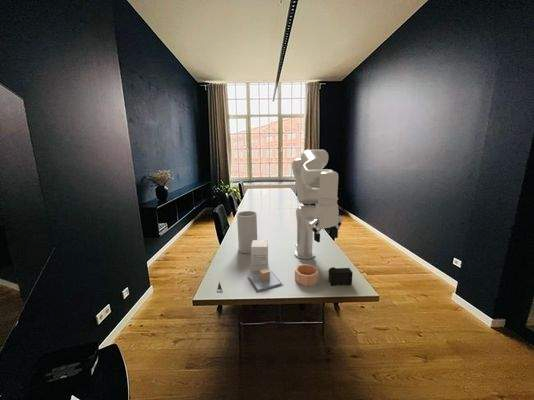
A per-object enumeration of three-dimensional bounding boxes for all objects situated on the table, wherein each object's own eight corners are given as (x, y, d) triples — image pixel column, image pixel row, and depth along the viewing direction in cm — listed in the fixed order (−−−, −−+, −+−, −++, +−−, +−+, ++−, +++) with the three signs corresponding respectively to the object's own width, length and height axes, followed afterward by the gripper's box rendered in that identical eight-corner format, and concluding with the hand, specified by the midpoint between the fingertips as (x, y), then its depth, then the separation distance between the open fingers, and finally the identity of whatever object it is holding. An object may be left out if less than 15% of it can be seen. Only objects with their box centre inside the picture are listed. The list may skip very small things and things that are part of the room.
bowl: (291, 277, 114) (291, 267, 113) (309, 272, 118) (309, 262, 117) (302, 289, 104) (303, 278, 103) (322, 283, 109) (322, 272, 107)
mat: (247, 278, 114) (247, 277, 114) (271, 272, 119) (271, 271, 119) (256, 294, 101) (256, 293, 101) (283, 286, 107) (283, 285, 106)
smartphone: (216, 291, 103) (220, 274, 118) (216, 293, 103) (220, 275, 118) (231, 290, 104) (233, 273, 118) (232, 292, 104) (233, 274, 118)
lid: (249, 277, 113) (249, 267, 112) (270, 272, 118) (270, 262, 116) (257, 291, 102) (257, 279, 101) (280, 284, 107) (280, 273, 106)
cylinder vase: (260, 247, 149) (260, 212, 144) (251, 255, 139) (249, 217, 133) (245, 244, 155) (244, 210, 149) (235, 251, 144) (233, 215, 139)
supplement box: (253, 263, 129) (252, 239, 125) (268, 263, 128) (268, 239, 125) (251, 272, 120) (250, 246, 116) (268, 272, 119) (267, 246, 116)
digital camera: (347, 278, 112) (348, 266, 111) (351, 285, 107) (352, 272, 105) (327, 279, 112) (327, 267, 110) (330, 286, 107) (331, 273, 105)
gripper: (337, 197, 99) (335, 232, 103) (305, 201, 92) (304, 239, 96) (349, 200, 92) (347, 238, 96) (316, 205, 85) (315, 246, 89)
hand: (325, 239), depth 96 cm, fingers open, 9 cm apart
